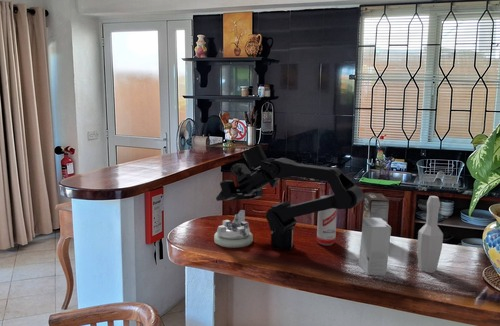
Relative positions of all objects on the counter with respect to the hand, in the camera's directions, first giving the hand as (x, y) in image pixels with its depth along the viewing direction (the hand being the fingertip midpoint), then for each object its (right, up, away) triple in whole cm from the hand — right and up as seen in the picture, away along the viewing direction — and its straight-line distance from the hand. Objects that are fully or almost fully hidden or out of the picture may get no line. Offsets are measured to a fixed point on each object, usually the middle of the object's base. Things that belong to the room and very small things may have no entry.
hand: (225, 199), depth 164 cm
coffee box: (+51, -15, -3) cm, 53 cm away
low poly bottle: (+61, -19, -26) cm, 69 cm away
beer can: (+34, -15, -5) cm, 38 cm away
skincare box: (+45, -19, -27) cm, 56 cm away
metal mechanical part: (+4, -11, 0) cm, 11 cm away
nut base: (+3, -14, -5) cm, 15 cm away
